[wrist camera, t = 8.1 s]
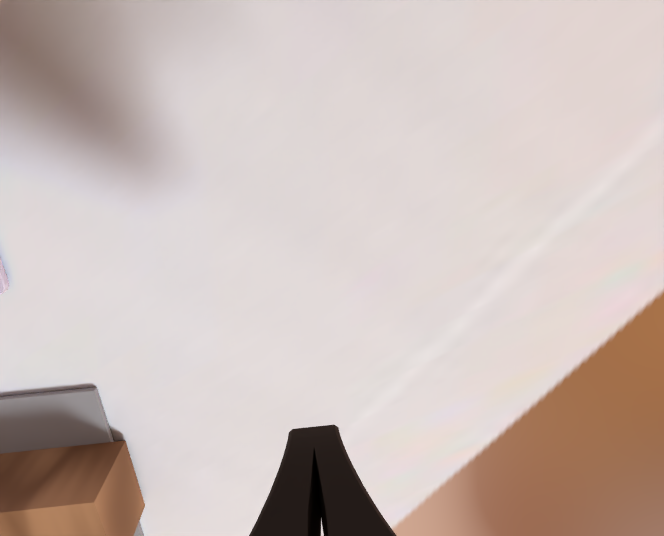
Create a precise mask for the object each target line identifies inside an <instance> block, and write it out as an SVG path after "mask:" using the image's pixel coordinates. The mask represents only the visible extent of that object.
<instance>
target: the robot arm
mask: <svg viewBox="0 0 664 536" xmlns="http://www.w3.org/2000/svg"><path fill="white" fill-rule="evenodd" d="M8 288H9V281H8V278H7V275H6V273H5V270H4V267H3V264H2V262H1V259H0V294H2V293H4V292H5V291H7V290H8ZM321 519H322V526H323V532H324V536H396V535H395V533H394V532H393V530H392V529H391V528H390V526H389V525H388V523H387V522H386V521H385V519H384V518H383V516H382V515H381V513H380V512H379V510H378V509H377V507H376V505H375V504H374V502H373V501H372V499H371V497H370V496H369V494H368V493H367V491H366V489H365V487H364V486H363V484H362V482H361V480H360V478H359V476H358V475H357V473H356V471H355V469H354V467H353V465H352V463H351V461H350V459H349V457H348V454H347V452H346V450H345V447H344V445H343V442H342V440H341V437H340V433H339V429H338V427H337V426H335V425H327V426H318V427H308V428H299V429H292V430H291V431H290V432H289V436H288V441H287V445H286V449H285V452H284V456H283V459H282V462H281V465H280V468H279V470H278V473H277V476H276V478H275V481H274V483H273V486H272V488H271V491H270V493H269V496H268V498H267V500H266V502H265V504H264V507H263V509H262V511H261V513H260V515H259V517H258V520H257V522H256V524H255V526H254V528H253V529H252V531H251V533H250V535H249V536H321Z"/></svg>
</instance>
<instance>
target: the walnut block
mask: <svg viewBox="0 0 664 536" xmlns="http://www.w3.org/2000/svg"><path fill="white" fill-rule="evenodd" d="M144 507H145V504H144V500H143V497H142V494H141V490H140V487H139V484H138V481H137V477H136V474H135V471H134V467H133V464H132V461H131V458H130V454H129V451H128V448H127V444H126V441H117V442H107V443H97V444H88V445H78V446H69V447H59V448H50V449H40V450H31V451H21V452H12V453H2V454H0V536H134V533H135V531H136V528H137V525H138V523H139V520H140V517H141V515H142V512H143V509H144Z"/></svg>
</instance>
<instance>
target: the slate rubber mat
mask: <svg viewBox="0 0 664 536" xmlns="http://www.w3.org/2000/svg"><path fill="white" fill-rule="evenodd" d="M107 442H114V440H113V437H112V434H111V431H110V428H109V424H108V421H107V418H106V415H105V412H104V409H103V406H102V402H101V399H100V396H99V393H98V390H97V387H94V388H84V389H73V390H63V391H53V392H43V393H33V394H23V395H12V396H2V397H0V454H2V453H12V452H21V451H31V450H40V449H50V448H59V447H69V446H78V445H88V444H97V443H107ZM134 536H144V535H143V532H142V528H141V525H140V522H139V523H138V525H137V528H136V531H135V533H134Z"/></svg>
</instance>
